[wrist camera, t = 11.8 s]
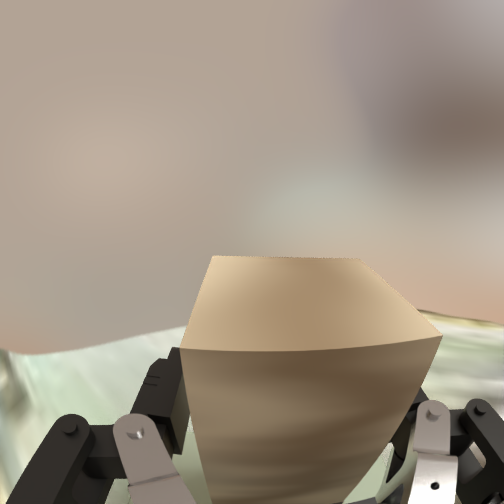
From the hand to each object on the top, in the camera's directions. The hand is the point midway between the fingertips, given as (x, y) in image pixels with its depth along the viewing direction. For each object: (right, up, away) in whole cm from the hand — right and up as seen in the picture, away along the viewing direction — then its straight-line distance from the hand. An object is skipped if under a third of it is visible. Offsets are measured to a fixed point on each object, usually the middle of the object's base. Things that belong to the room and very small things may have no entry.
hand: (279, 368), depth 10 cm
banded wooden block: (0, -10, +1) cm, 10 cm away
